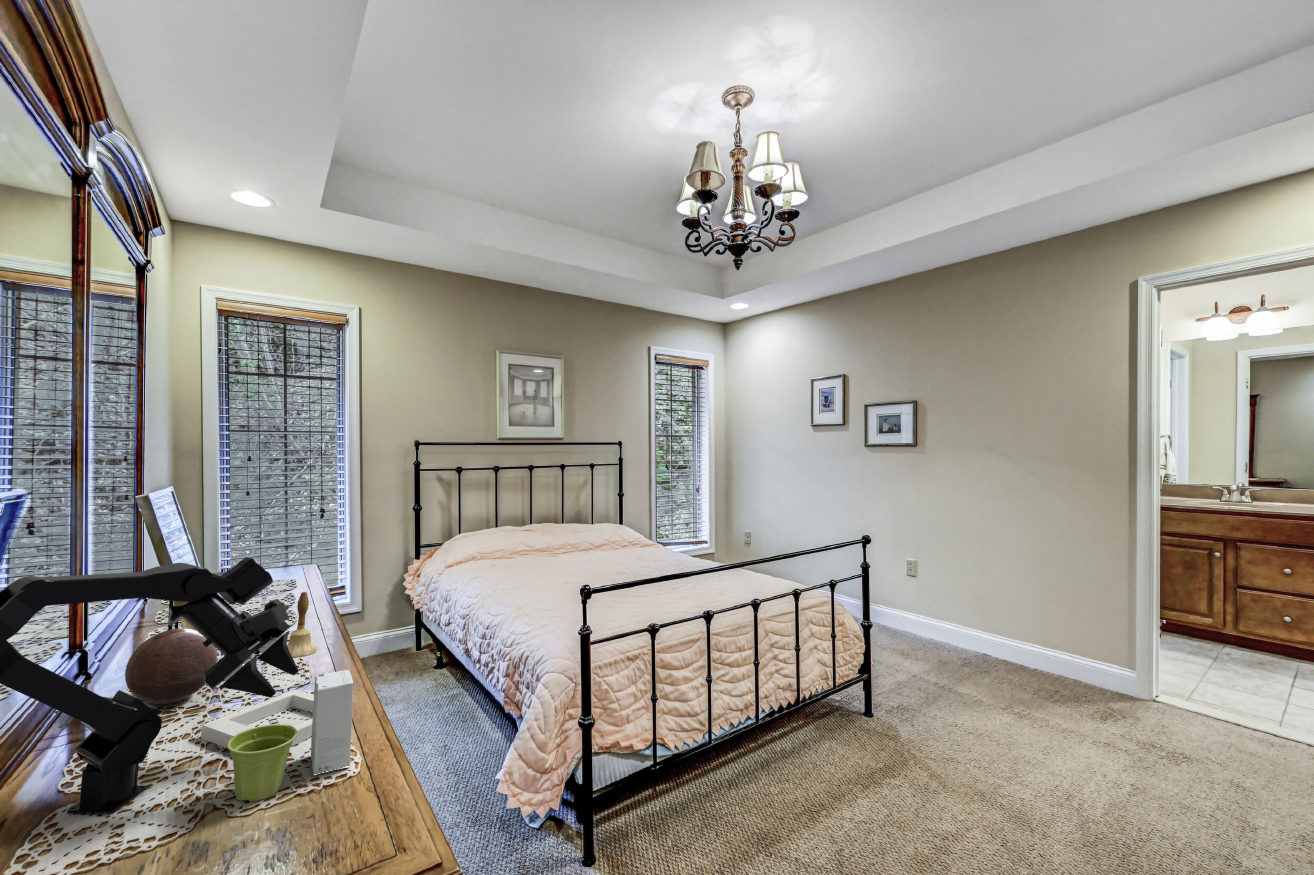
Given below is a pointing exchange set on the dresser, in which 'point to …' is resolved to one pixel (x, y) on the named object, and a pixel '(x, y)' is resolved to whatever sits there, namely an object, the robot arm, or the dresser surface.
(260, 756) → the plant pot
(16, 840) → the dresser surface
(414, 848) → the dresser surface
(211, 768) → the dresser surface
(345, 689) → the skincare box
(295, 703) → the white square frame
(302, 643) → the hand bell
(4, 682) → the robot arm
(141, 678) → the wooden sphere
